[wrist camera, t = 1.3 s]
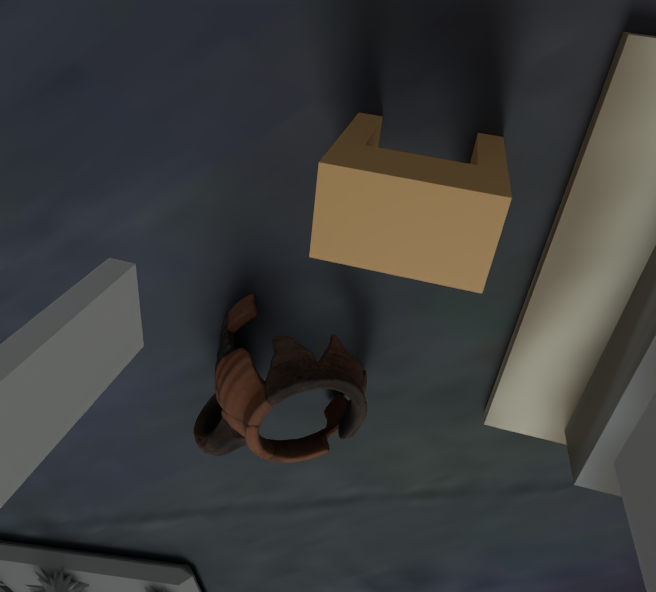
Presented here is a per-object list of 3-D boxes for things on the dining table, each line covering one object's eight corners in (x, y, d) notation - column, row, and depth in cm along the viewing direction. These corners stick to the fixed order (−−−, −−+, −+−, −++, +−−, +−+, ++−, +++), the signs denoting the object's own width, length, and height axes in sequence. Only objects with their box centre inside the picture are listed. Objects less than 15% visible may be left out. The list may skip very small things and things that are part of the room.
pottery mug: (270, 250, 33) (304, 345, 26) (367, 315, 38) (414, 405, 32) (150, 374, 36) (155, 482, 30) (255, 416, 42) (278, 514, 36)
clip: (348, 189, 29) (309, 257, 22) (359, 112, 27) (318, 162, 20) (481, 214, 28) (482, 293, 21) (503, 137, 26) (511, 198, 19)
